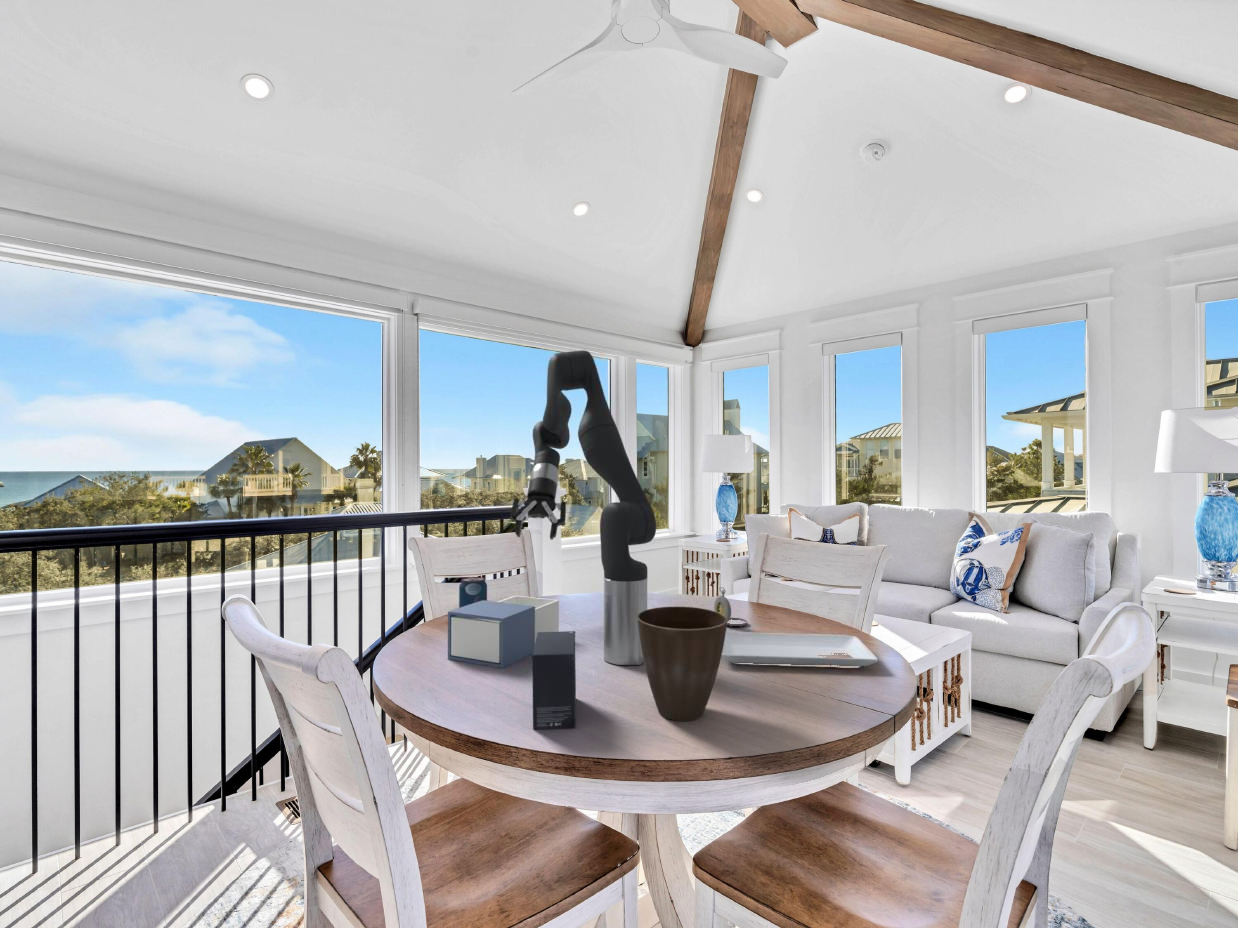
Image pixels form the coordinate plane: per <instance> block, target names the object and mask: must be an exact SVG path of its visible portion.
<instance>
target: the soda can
mask: <svg viewBox="0 0 1238 928" xmlns="http://www.w3.org/2000/svg"><path fill="white" fill-rule="evenodd" d="M458 587H459V588H458V589H459V590H458V594H459V595H458V608H460V607H464V606H467V605H470V604H473V603H476V602H479V601H482V600H485V601H488V584H487V582H486V578H485V577H483V576H468V577H463V578H461V581H460V584H459V586H458Z"/></svg>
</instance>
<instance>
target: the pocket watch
mask: <svg viewBox="0 0 1238 928" xmlns="http://www.w3.org/2000/svg"><path fill="white" fill-rule="evenodd" d="M721 589H722V590H721ZM719 591H720V593H721V595H720V596H718V597H717V598H715V601H714V605H713V607H714V610H713V611H715V612H718V613H721V614H723V615H724V616H726V617H727V622H728V621H729V620H731V619H732V620H741V621H744V622H746V623H743V624H730V623H727V625H729V626H728V627H732V626H740V627H744V626H743V625H745V626H747V625H748V620H746V619H744V618H741V617H740V618H739V617H732V607H731V606H732V605H731V603H730V601H729V599H728V598H727V597H726V596H725V594H726V592H727V591H726V589H725V588H724V587H723V586H720V587H719ZM746 624H747V625H746Z"/></svg>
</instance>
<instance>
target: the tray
mask: <svg viewBox="0 0 1238 928" xmlns="http://www.w3.org/2000/svg"><path fill="white" fill-rule="evenodd" d="M831 653H832V654H831ZM834 653H845V654H844V655H847V654H848V655H850V656H851V657H853V658H824V657H826V656H824V657H823V656H818V655H834ZM846 653H847V654H846ZM835 655H836V654H835ZM837 655H838V654H837ZM842 655H843V654H842ZM721 658H723V659H725V660H726V661H729V662H730V663H732V662H734V663H753V664H791V665H830V666H831V665H837V666H838V665H839V666H864V667H868V666H870V665H873V664H876V663H878V661H879V659H878V657H877V656H876V655H875V654H874V653H873V652H872V651H871V650H870V649H869V648H868V647H867V646H866V645H865V644H864V642H863V641H862V640H861V639H860V638H858V636H854V635H849V634H825V633H822V634H821V633H780V632H777V633H776V632H775V633H774V632H753V631H752V632H751V631H750V632H747V631H742V632H741V631H726V634H725V640H724V646H723V651H722V655H721Z"/></svg>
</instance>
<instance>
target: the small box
mask: <svg viewBox="0 0 1238 928" xmlns="http://www.w3.org/2000/svg"><path fill="white" fill-rule="evenodd" d="M531 658H532V659H531V662H532V666H531V667H532V669H531V670H532V671H531V672H532V677H531V678H532V681H531V682H532V729H533V731H536V730H538V731H539V730H564V729H565V730H568V729H569V730H570V729H571V730H572V729H573V730H575V729H576V727H577V725H576V724H577V722H576V720H577V719H576V718H577V717H576V715H577V714H576V713H577V709H576V708H577V707H576V706H577V705H576V704H577V698H576V696H577V695H576V693H577V690H576V688H577V685H576V683H577V682H576V681H577V679H576V677H577V675H576V631H574V630H569V631H567V630H566V631H564V630H563V631H559V632H538V633H537V637H536V642H535V646H534V650H533V653H532V655H531Z"/></svg>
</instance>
